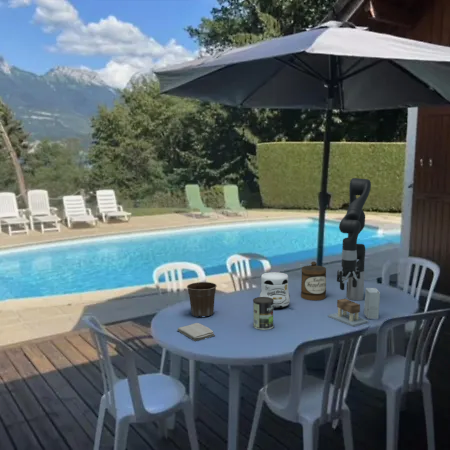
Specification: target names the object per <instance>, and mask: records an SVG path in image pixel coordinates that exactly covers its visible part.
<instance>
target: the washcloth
mask: <svg viewBox="0 0 450 450" xmlns="http://www.w3.org/2000/svg"><path fill="white" fill-rule="evenodd" d="M178 331H179V332H178ZM177 332H178V333H180V334H182V335H183V336H186V337H188V338H189V339H191V340H192V341H194V342H196V341H203V340H206V339H205V338H207V339H210V338H213V337H212V336H214V337H215V334H214V331H213V330H212V329H210V327H207V326H206V325H205V324H204V325H203V324H202V323H199V322H195V323H191V324H189V325H184V326H180V327H178V328H177ZM209 337H210V338H209Z"/></svg>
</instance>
